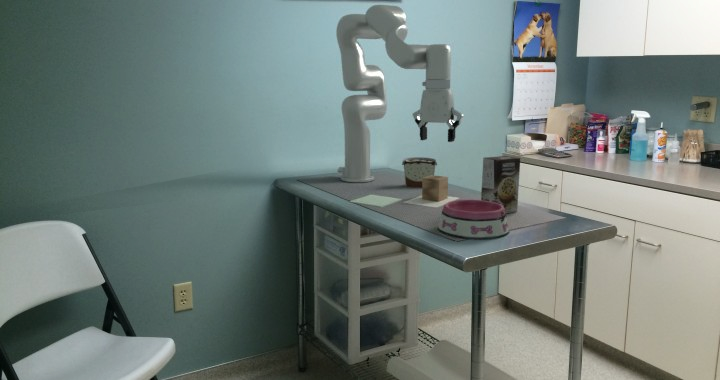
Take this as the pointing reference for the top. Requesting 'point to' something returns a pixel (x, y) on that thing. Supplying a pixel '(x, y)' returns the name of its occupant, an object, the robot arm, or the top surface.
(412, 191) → the top surface
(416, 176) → the food container
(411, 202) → the card
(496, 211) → the dog bowl
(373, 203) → the mat
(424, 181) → the walnut block
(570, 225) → the top surface
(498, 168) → the coffee box
